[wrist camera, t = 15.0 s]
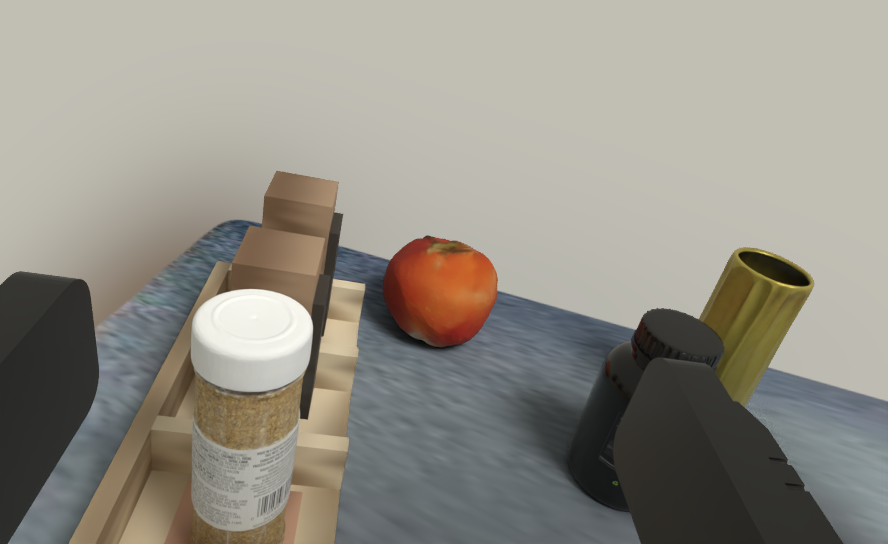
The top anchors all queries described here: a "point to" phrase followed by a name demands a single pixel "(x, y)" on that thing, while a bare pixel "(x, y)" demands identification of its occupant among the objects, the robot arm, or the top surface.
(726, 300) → the vase
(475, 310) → the tomato
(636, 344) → the supplement bottle
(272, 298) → the spice jar
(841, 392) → the top surface
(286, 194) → the rail rack
